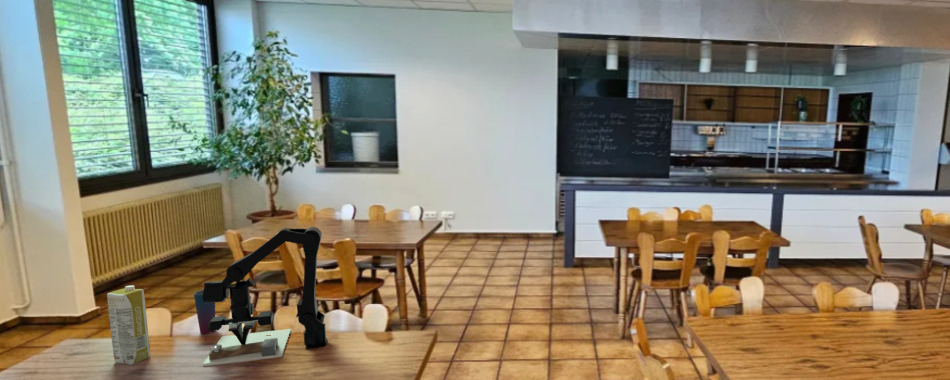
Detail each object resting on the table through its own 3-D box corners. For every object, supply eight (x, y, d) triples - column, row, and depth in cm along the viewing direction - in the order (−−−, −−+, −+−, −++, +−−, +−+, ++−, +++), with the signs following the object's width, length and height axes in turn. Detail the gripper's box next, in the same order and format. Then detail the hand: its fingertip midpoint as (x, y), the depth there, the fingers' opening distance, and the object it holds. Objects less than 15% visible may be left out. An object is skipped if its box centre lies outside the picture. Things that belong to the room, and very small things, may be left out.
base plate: (291, 330, 179) (290, 319, 179) (282, 356, 158) (281, 343, 157) (222, 338, 174) (221, 326, 174) (203, 366, 153) (202, 353, 152)
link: (209, 359, 155) (209, 354, 154) (211, 354, 158) (210, 349, 158) (277, 348, 162) (277, 343, 161) (277, 344, 165) (277, 339, 165)
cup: (209, 335, 177) (205, 295, 175) (192, 334, 178) (189, 294, 177) (222, 328, 184) (219, 289, 182) (206, 327, 185) (203, 288, 183)
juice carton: (154, 356, 161) (147, 284, 158) (131, 367, 154) (123, 292, 151) (134, 352, 164) (126, 282, 162) (110, 363, 157) (101, 289, 154)
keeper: (278, 346, 164) (277, 337, 163) (275, 355, 157) (274, 345, 157) (265, 348, 163) (264, 339, 162) (261, 356, 156) (261, 347, 156)
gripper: (274, 289, 170) (277, 332, 172) (215, 294, 166) (219, 338, 168) (269, 300, 159) (272, 346, 161) (205, 306, 155) (210, 353, 157)
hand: (243, 345), depth 162 cm, fingers closed
